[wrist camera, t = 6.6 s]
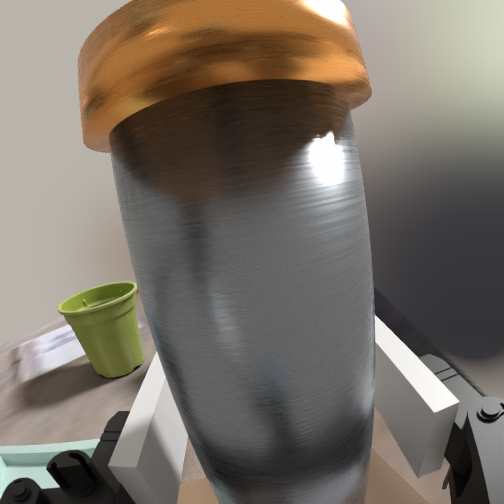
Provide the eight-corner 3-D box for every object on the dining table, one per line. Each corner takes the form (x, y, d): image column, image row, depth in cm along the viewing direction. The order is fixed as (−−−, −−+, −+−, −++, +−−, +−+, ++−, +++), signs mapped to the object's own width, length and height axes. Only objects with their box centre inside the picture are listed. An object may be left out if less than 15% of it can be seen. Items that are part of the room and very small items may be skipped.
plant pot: (79, 394, 27) (48, 318, 26) (88, 356, 36) (66, 293, 34) (161, 375, 30) (136, 297, 29) (154, 340, 39) (136, 276, 37)
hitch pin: (272, 619, 6) (43, 0, 2) (237, 543, 11) (99, 111, 7) (382, 573, 8) (410, 3, 4) (332, 509, 13) (286, 86, 9)
